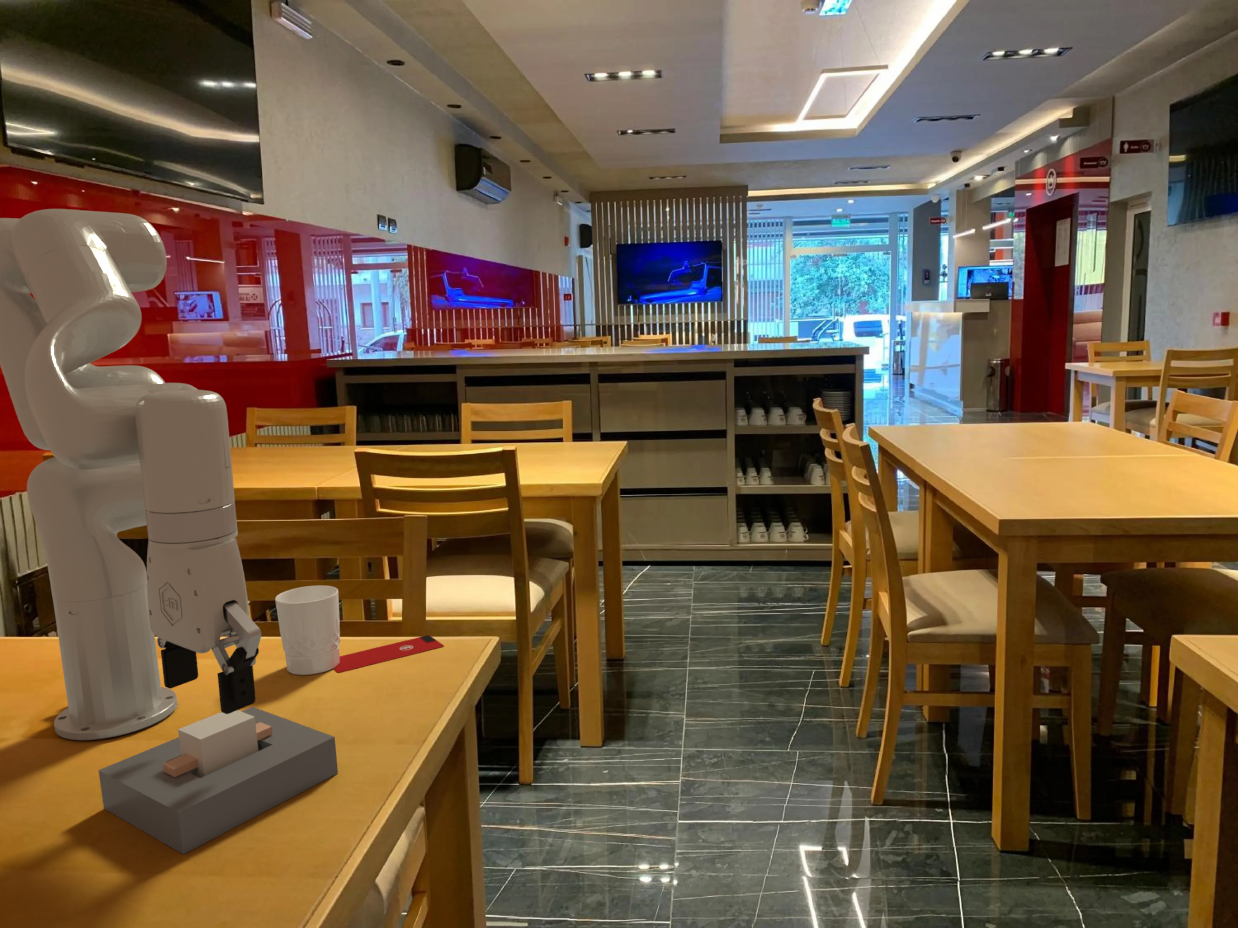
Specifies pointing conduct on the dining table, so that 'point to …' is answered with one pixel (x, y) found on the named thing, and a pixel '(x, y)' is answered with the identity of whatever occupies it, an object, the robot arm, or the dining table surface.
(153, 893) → the dining table surface
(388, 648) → the electronic device
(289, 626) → the white cup
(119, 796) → the block
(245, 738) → the block
